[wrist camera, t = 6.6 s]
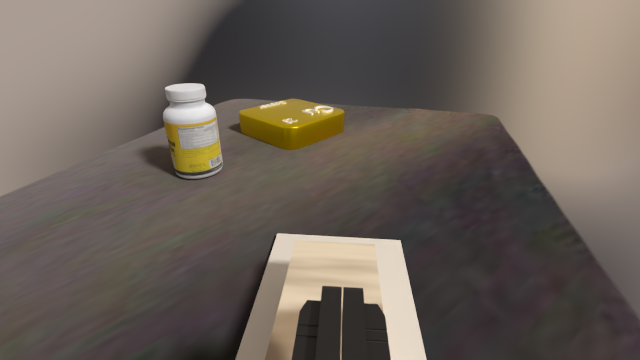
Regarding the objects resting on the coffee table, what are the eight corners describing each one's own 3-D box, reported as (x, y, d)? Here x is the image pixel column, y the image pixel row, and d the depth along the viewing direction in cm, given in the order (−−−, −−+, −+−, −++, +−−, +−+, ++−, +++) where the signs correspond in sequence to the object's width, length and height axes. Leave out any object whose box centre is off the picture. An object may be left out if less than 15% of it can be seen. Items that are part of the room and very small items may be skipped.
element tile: (294, 117, 71) (293, 95, 69) (348, 132, 62) (349, 107, 60) (236, 133, 62) (233, 108, 59) (290, 154, 53) (289, 125, 50)
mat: (450, 479, 16) (454, 469, 15) (206, 453, 16) (203, 443, 16) (399, 243, 32) (401, 235, 31) (277, 236, 32) (277, 228, 32)
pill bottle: (187, 160, 49) (172, 81, 44) (229, 162, 49) (219, 82, 43) (166, 180, 43) (145, 91, 38) (213, 182, 43) (199, 92, 38)
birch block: (403, 471, 12) (374, 244, 24) (240, 455, 12) (295, 240, 25) (392, 525, 13) (370, 286, 26) (248, 509, 14) (296, 281, 26)
